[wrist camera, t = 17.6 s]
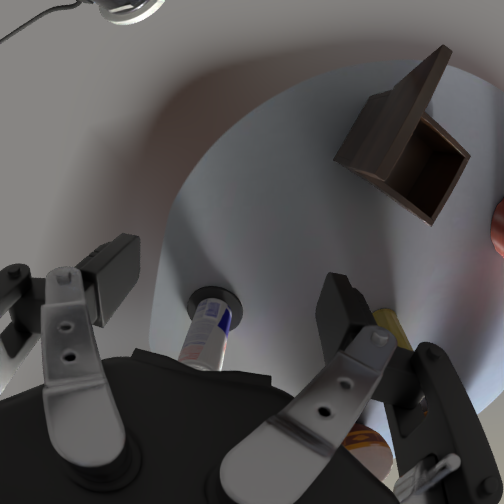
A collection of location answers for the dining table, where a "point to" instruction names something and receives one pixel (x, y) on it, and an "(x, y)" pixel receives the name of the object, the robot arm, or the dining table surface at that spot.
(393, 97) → the lid
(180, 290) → the dining table surface
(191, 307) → the mat
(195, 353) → the beverage can
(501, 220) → the flower pot
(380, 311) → the vase
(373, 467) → the jug
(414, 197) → the chest
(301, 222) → the dining table surface
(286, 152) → the dining table surface
